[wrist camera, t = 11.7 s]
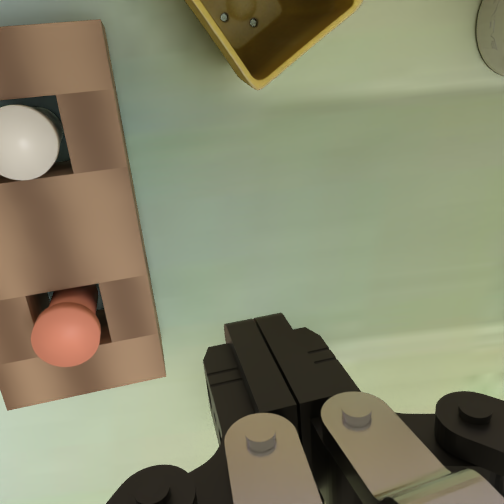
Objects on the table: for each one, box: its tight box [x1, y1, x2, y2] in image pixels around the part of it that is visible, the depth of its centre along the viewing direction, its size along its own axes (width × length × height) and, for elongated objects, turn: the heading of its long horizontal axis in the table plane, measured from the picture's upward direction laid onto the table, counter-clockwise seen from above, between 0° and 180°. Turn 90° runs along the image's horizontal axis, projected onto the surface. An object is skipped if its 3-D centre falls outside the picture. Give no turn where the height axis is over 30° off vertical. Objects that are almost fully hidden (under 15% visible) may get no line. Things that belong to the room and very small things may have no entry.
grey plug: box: [0, 104, 63, 180], centre depth 32 cm, size 4×4×7 cm
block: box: [0, 20, 166, 411], centre depth 36 cm, size 12×26×6 cm, turn 5°
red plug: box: [31, 284, 101, 367], centre depth 36 cm, size 4×4×7 cm
